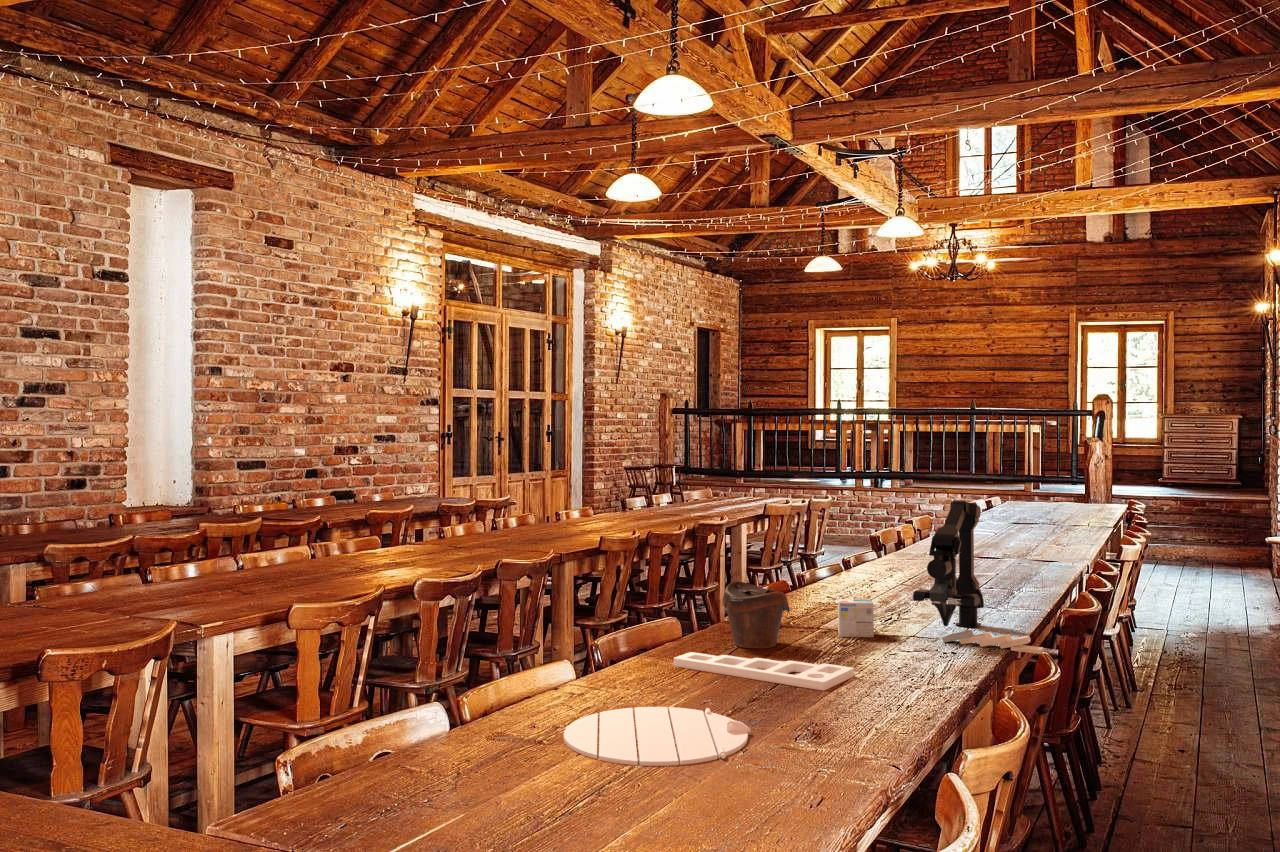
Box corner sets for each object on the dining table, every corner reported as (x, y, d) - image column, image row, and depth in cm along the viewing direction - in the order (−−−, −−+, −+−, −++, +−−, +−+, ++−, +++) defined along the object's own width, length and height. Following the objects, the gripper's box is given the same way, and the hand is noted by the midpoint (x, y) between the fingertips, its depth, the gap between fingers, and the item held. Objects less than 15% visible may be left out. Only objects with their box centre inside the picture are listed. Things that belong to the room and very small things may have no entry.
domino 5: (1014, 644, 314) (1043, 647, 310) (1014, 649, 314) (1043, 653, 310) (1010, 646, 310) (1039, 650, 306) (1010, 652, 310) (1039, 655, 306)
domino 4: (1001, 640, 316) (1029, 635, 313) (1003, 646, 316) (1030, 640, 312) (999, 643, 312) (1026, 637, 309) (1000, 648, 312) (1028, 643, 308)
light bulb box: (871, 633, 335) (871, 598, 335) (874, 637, 328) (874, 602, 328) (837, 632, 336) (837, 598, 336) (838, 637, 329) (838, 602, 329)
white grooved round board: (739, 710, 250) (739, 696, 250) (764, 766, 211) (764, 748, 211) (567, 712, 248) (567, 698, 248) (560, 768, 209) (559, 751, 209)
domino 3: (983, 639, 319) (1009, 633, 314) (985, 644, 318) (1011, 639, 314) (978, 641, 315) (1005, 636, 311) (980, 647, 315) (1007, 642, 310)
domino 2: (964, 636, 322) (989, 631, 318) (965, 641, 322) (991, 637, 318) (959, 639, 319) (985, 634, 315) (961, 644, 319) (987, 639, 314)
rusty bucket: (788, 652, 308) (787, 589, 308) (718, 649, 312) (718, 588, 312) (791, 640, 326) (791, 581, 326) (726, 638, 330) (725, 579, 330)
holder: (673, 667, 292) (673, 658, 292) (708, 655, 307) (708, 646, 307) (823, 693, 266) (823, 682, 266) (854, 678, 281) (854, 667, 281)
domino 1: (946, 634, 325) (971, 629, 321) (948, 640, 325) (973, 634, 320) (941, 637, 321) (967, 632, 317) (943, 642, 321) (969, 637, 317)
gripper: (906, 575, 322) (906, 627, 322) (968, 580, 311) (968, 634, 311) (919, 570, 331) (919, 621, 331) (980, 575, 320) (980, 627, 320)
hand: (945, 626), depth 323 cm, fingers closed
